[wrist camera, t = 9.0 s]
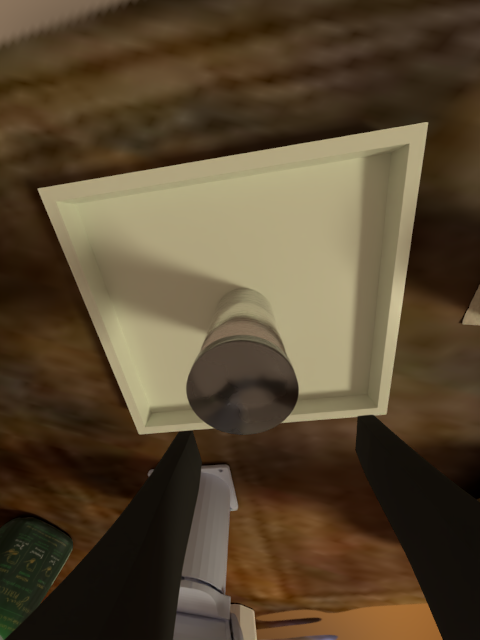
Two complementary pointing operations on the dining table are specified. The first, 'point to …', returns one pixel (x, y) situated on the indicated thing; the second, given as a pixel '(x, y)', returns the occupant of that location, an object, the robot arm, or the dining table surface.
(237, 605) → the cup
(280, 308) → the tray
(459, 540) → the robot arm
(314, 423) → the dining table surface
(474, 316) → the condiment
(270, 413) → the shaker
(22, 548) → the green squeeze bottle
